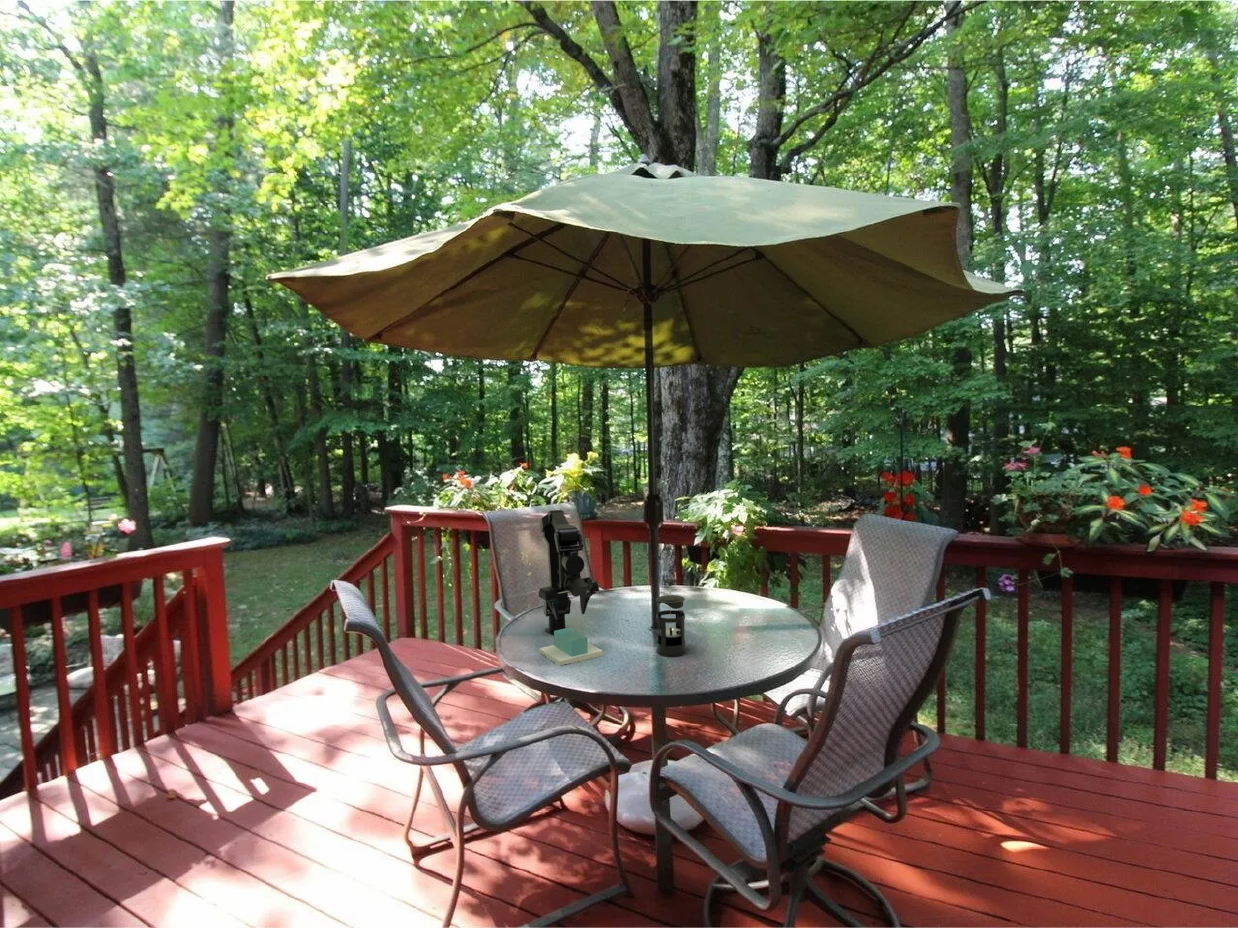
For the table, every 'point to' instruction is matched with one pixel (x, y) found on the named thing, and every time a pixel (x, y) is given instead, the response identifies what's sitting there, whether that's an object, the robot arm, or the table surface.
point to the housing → (570, 642)
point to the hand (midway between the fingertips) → (570, 616)
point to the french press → (670, 638)
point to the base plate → (564, 658)
